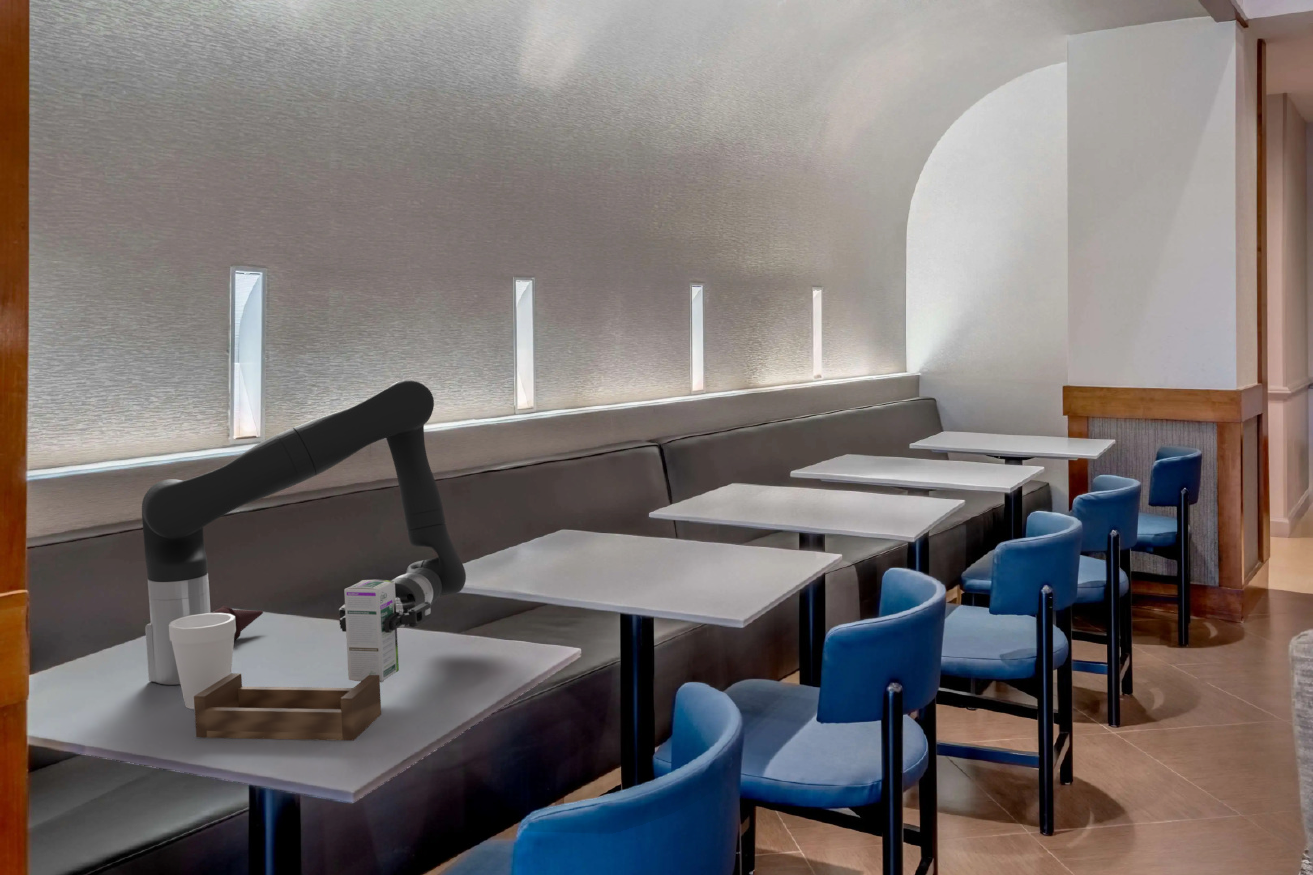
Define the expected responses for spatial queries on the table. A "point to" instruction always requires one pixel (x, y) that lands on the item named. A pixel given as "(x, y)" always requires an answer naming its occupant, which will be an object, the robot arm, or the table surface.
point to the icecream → (240, 617)
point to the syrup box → (370, 630)
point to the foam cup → (202, 651)
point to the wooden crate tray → (286, 710)
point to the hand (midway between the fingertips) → (365, 625)
